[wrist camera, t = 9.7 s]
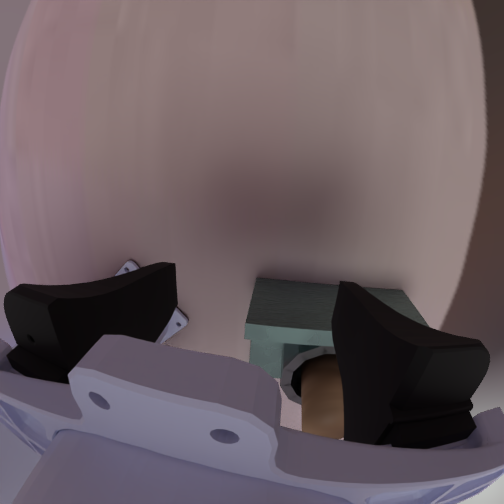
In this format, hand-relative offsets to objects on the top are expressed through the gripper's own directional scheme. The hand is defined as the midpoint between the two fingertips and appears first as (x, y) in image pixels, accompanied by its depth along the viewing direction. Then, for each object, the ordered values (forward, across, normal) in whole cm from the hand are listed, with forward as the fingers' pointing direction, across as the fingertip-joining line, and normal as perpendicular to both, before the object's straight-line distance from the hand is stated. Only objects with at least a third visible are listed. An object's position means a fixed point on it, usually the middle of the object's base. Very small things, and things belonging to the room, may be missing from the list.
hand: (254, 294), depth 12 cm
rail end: (+9, -6, +10) cm, 15 cm away
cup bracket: (+10, -6, +10) cm, 16 cm away
